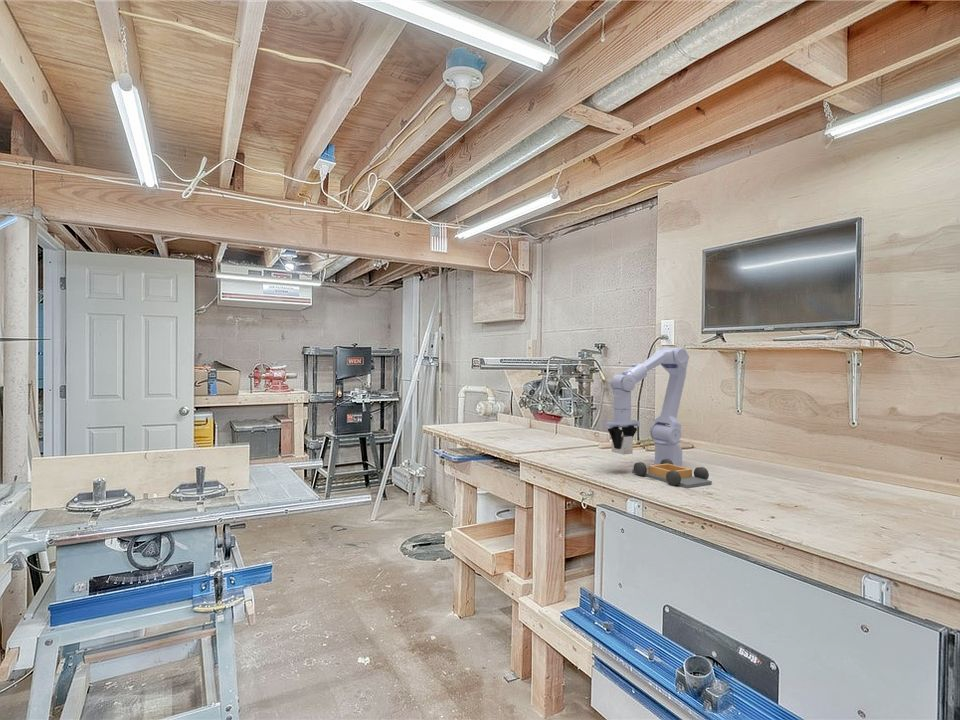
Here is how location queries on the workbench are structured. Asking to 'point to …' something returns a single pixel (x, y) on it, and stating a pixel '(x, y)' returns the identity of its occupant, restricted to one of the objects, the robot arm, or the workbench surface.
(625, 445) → the engine block
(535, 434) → the workbench surface
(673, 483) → the chassis
